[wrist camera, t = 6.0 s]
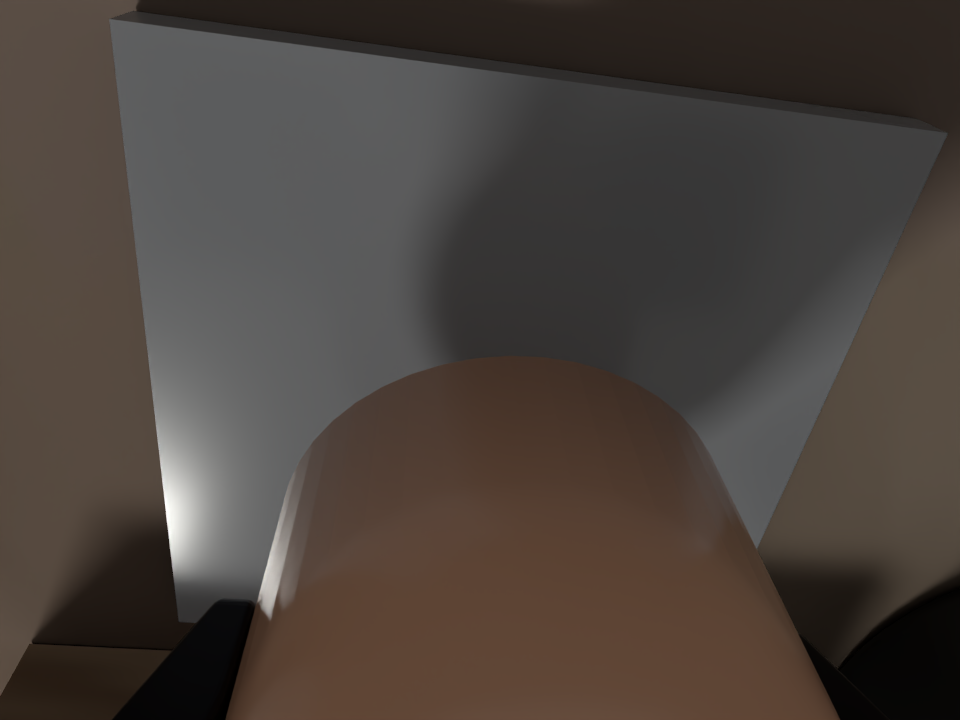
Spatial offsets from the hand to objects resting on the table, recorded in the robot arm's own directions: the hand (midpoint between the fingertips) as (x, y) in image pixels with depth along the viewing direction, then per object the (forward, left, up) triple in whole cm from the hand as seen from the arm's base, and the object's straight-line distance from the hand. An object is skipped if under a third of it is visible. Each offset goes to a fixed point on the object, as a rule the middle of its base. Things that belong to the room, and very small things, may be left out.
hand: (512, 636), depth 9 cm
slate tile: (0, 0, -5) cm, 5 cm away
